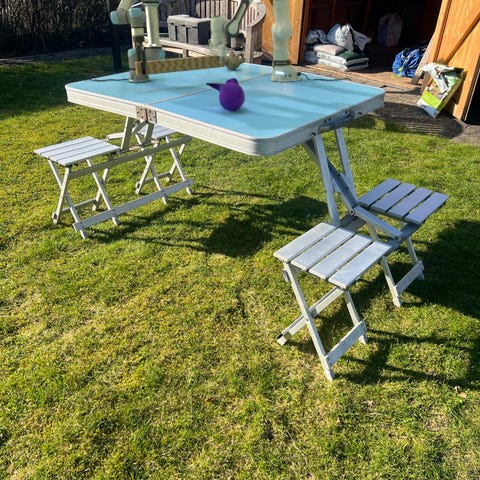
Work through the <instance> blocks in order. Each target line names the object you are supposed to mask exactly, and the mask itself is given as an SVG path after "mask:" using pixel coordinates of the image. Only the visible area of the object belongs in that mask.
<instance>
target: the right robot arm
mask: <svg viewBox="0 0 480 480" xmlns="http://www.w3.org/2000/svg"><path fill="white" fill-rule="evenodd" d="M237 2H238V3H237V8H236V10H235V12H234V13H233V15H232V18H231V19H228V18H226V17H224V16H223V14H218V15H213V16H211V19H210V31H211V32H210V39H208V48H209V53H210V55H217V56H219V63H222V58H223V57H228V53H227V52H228V51H227V46H226V45H225V36H227V38H230V39H234V38H236V37H237V36H238V35H239V33H240V29H241V24H242V21H243V19H244V18H245V15H246V13H247V11H248V9H249V8H250V7H251V5H252V4H253V2H254V0H237ZM272 14H273V16H274V23H273V24H272V25H271V27H270V32H271V39H272V47H273V48H272V49H273V51H272V53H273V55H272V56H273V57H272V58H273V59H272V63H271V64H272V73H271V77H270V80H271V81H273V82H280V83H288V82H299V81H302V78H301V76H304V77H306V80H307V81H327V82H332V81H333V82H335V81H342V80H349V81H352V79H351V78H350V77H344V78H335V79H334V78H333V79H325V78H314V79H313V78H312V79H311V78H309V77H308V75H307V74H305V73H302V71H298V70H297V69H296V68H295V67H294V66H293V65H292V64H293V60H291V59H289V53H290V51H289V50H290V48H289V42H288V40H289V39H290V38H291V37H292V36H293V34H294V33H293V31H294V30H293V27H292V20H291V16H290V0H272ZM350 127H351V126H350V125H348V130H347V137H349V136H350Z"/></svg>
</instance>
